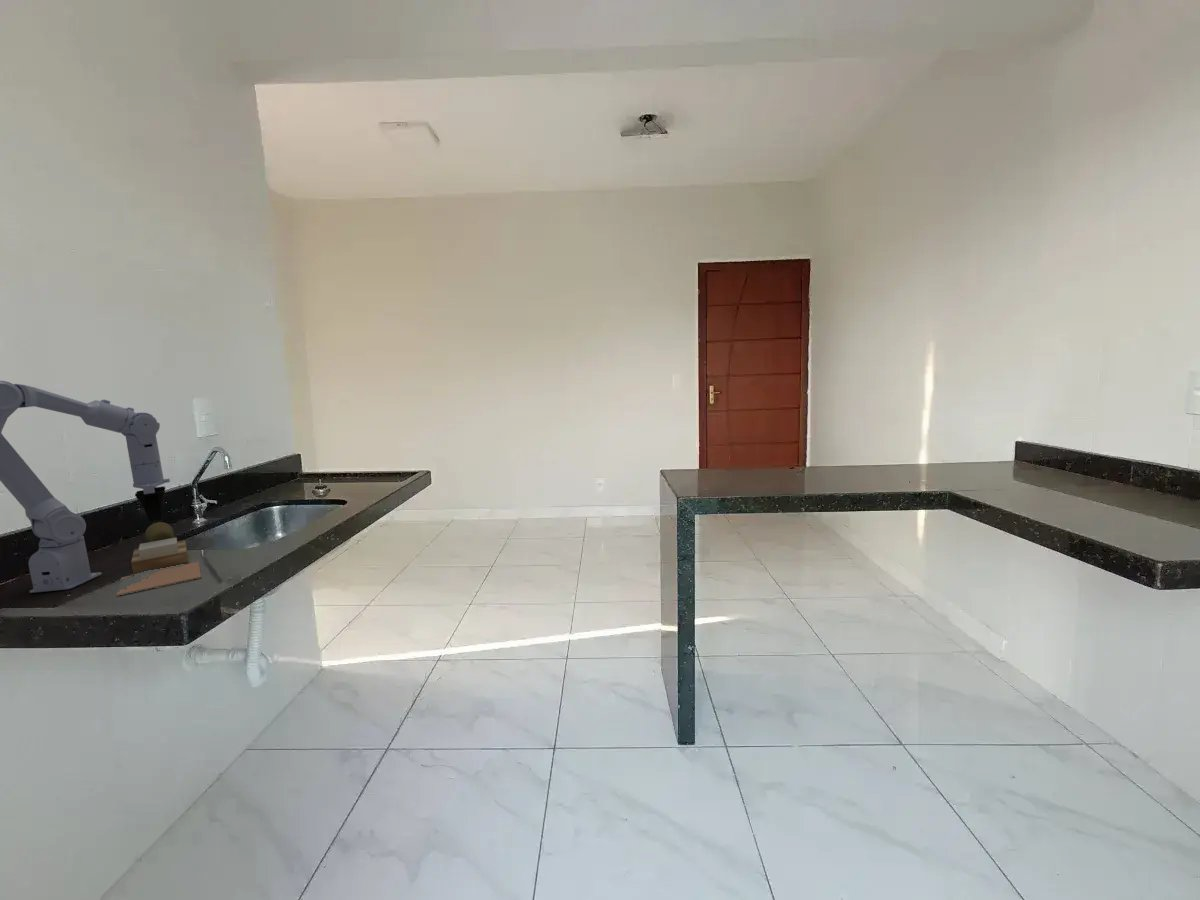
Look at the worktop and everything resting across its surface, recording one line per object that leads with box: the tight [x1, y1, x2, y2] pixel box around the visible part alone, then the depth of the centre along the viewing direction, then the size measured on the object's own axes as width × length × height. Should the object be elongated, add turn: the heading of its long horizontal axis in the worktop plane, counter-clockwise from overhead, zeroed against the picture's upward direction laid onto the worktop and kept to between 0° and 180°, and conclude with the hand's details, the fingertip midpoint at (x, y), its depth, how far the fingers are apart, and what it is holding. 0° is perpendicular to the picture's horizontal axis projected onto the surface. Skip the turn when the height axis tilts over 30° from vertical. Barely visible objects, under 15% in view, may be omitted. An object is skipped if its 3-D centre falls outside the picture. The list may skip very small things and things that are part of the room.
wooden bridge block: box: [130, 539, 189, 575], centre depth 139 cm, size 14×10×3 cm
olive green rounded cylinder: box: [144, 521, 176, 543], centre depth 153 cm, size 6×6×11 cm
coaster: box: [138, 537, 178, 559], centre depth 138 cm, size 7×7×2 cm
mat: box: [116, 561, 202, 596], centre depth 127 cm, size 14×14×1 cm
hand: (155, 519), depth 143 cm, fingers open, 3 cm apart
